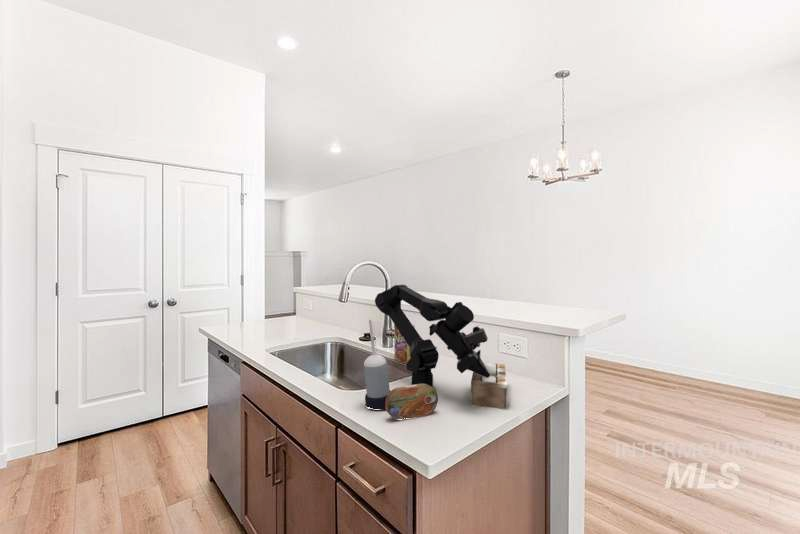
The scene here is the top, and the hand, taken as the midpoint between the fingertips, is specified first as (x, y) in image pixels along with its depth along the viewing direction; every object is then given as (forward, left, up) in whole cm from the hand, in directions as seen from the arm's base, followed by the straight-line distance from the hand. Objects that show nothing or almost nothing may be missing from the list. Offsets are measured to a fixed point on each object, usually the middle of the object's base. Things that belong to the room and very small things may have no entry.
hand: (489, 376), depth 112 cm
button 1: (0, 0, -5) cm, 5 cm away
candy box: (-24, +42, -8) cm, 49 cm away
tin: (-23, -9, -8) cm, 26 cm away
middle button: (+2, +6, -3) cm, 7 cm away
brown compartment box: (+2, +6, -8) cm, 10 cm away
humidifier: (-32, -2, -7) cm, 33 cm away
